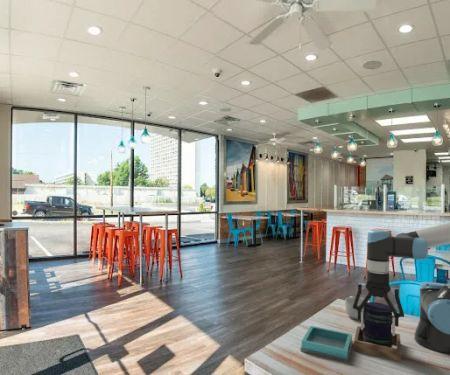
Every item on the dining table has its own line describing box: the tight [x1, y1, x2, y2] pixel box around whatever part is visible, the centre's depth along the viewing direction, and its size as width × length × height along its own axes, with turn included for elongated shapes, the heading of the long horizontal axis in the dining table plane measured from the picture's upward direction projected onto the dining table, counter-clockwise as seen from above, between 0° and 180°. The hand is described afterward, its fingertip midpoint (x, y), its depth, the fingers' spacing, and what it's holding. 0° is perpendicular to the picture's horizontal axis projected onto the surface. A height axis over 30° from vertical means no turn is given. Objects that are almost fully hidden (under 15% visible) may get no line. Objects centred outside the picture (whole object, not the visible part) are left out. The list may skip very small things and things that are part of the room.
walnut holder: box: [353, 325, 402, 362], centre depth 117 cm, size 15×15×4 cm
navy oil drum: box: [362, 301, 393, 348], centre depth 117 cm, size 10×10×15 cm
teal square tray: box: [300, 325, 354, 363], centre depth 116 cm, size 16×16×4 cm
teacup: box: [344, 295, 371, 321], centre depth 148 cm, size 14×11×8 cm
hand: (377, 331), depth 117 cm, fingers closed on navy oil drum, 10 cm apart
